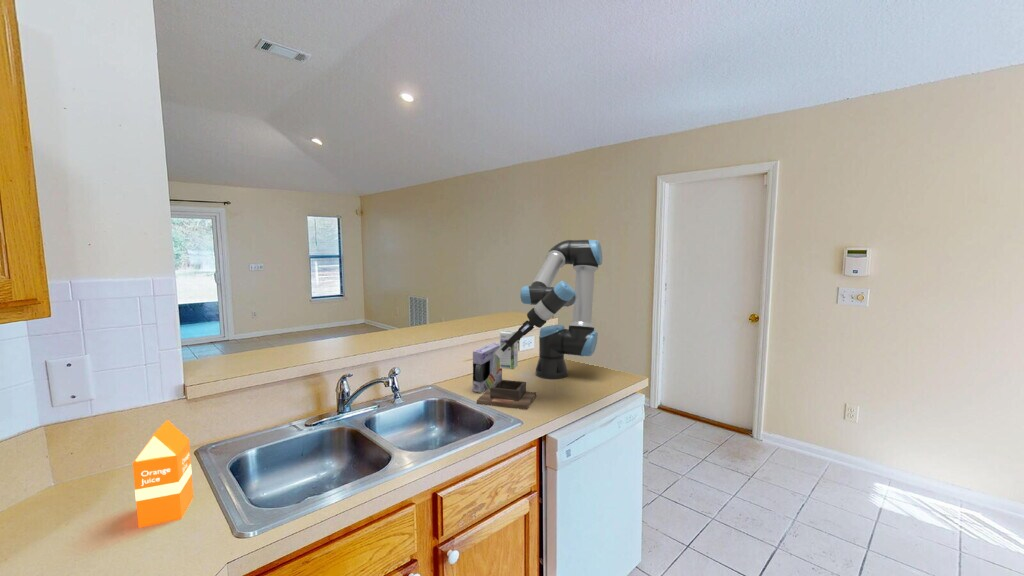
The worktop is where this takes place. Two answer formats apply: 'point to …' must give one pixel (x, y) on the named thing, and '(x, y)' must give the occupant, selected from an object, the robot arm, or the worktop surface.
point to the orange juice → (163, 477)
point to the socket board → (508, 395)
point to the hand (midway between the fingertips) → (500, 353)
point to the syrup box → (508, 351)
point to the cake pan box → (486, 367)
